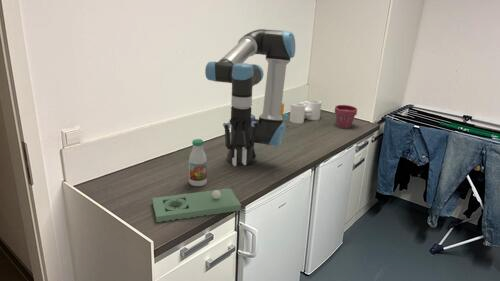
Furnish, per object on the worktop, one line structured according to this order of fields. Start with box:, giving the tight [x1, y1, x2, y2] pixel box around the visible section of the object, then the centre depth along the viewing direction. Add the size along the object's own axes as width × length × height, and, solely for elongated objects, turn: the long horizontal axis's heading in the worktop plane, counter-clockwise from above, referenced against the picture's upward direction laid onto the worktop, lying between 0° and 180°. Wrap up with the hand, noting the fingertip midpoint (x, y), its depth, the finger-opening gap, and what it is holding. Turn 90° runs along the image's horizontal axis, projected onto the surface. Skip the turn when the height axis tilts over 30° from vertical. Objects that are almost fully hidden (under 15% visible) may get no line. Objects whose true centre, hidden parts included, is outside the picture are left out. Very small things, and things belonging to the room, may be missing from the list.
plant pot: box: [334, 104, 358, 129], centre depth 251 cm, size 14×14×13 cm
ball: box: [212, 189, 221, 199], centre depth 150 cm, size 4×4×4 cm
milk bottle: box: [188, 138, 208, 187], centre depth 164 cm, size 8×8×20 cm
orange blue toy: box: [280, 102, 290, 123], centre depth 245 cm, size 12×10×15 cm
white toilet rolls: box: [289, 99, 322, 124], centre depth 261 cm, size 25×10×12 cm, turn 130°
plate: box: [151, 187, 242, 223], centre depth 148 cm, size 32×14×2 cm, turn 110°
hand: (239, 164), depth 149 cm, fingers open, 3 cm apart
